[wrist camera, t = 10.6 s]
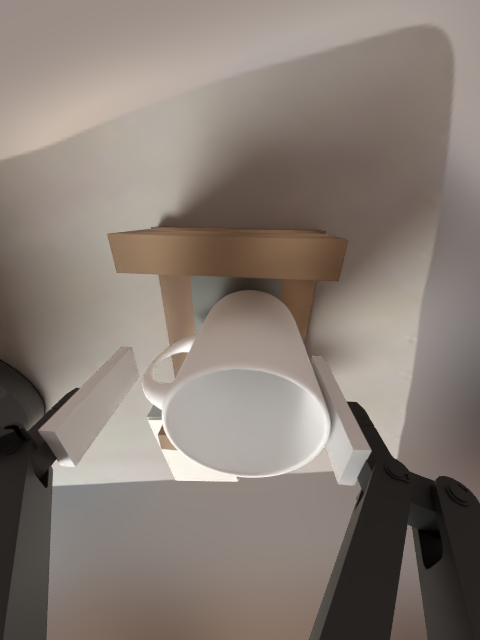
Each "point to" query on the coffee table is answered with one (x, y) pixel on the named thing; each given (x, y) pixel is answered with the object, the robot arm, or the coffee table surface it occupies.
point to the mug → (243, 391)
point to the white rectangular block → (184, 458)
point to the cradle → (227, 271)
